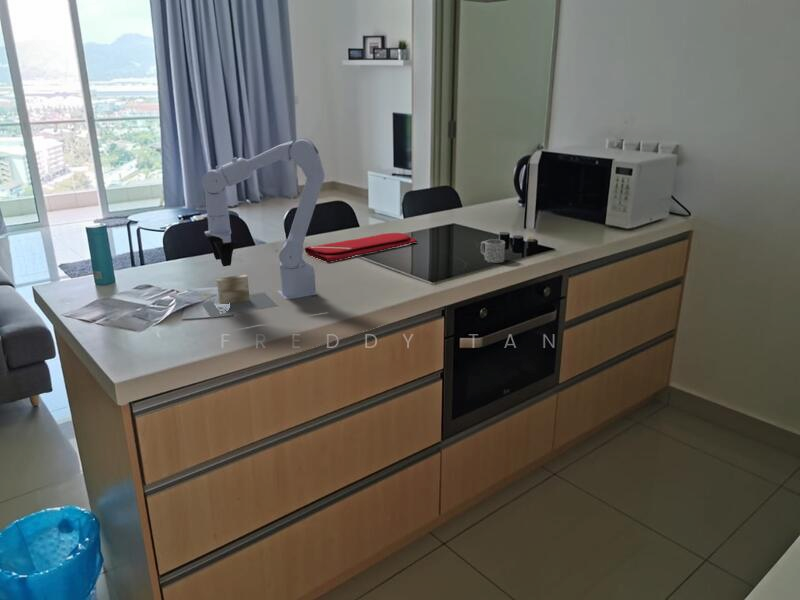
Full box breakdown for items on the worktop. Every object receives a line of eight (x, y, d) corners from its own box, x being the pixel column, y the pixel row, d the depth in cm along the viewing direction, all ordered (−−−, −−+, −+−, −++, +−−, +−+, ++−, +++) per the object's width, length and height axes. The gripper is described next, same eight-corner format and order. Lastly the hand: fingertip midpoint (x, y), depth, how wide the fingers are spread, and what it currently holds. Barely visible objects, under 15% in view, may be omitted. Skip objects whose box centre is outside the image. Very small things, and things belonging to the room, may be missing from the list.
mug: (508, 260, 206) (509, 242, 204) (494, 264, 203) (495, 245, 200) (487, 254, 214) (488, 236, 212) (473, 257, 210) (474, 239, 208)
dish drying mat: (418, 245, 229) (418, 235, 228) (327, 265, 205) (327, 254, 203) (392, 237, 241) (392, 228, 239) (304, 255, 216) (303, 245, 215)
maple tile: (247, 298, 170) (245, 274, 168) (249, 300, 169) (247, 276, 166) (219, 302, 167) (216, 278, 164) (221, 304, 165) (218, 280, 163)
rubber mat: (264, 293, 175) (264, 292, 175) (278, 307, 164) (277, 305, 164) (201, 304, 167) (201, 302, 167) (211, 319, 156) (211, 317, 156)
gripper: (197, 211, 168) (202, 258, 173) (209, 221, 156) (215, 270, 161) (222, 209, 172) (226, 254, 176) (236, 218, 160) (241, 267, 164)
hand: (223, 262), depth 169 cm, fingers open, 7 cm apart
